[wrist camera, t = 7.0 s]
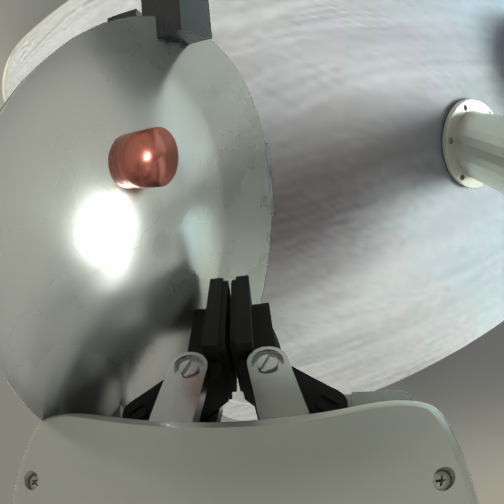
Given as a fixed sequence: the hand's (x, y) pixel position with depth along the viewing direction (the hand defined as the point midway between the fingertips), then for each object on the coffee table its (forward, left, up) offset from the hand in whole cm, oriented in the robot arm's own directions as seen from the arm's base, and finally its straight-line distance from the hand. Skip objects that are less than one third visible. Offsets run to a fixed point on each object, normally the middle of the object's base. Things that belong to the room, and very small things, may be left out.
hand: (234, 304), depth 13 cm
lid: (+2, -6, -1) cm, 6 cm away
